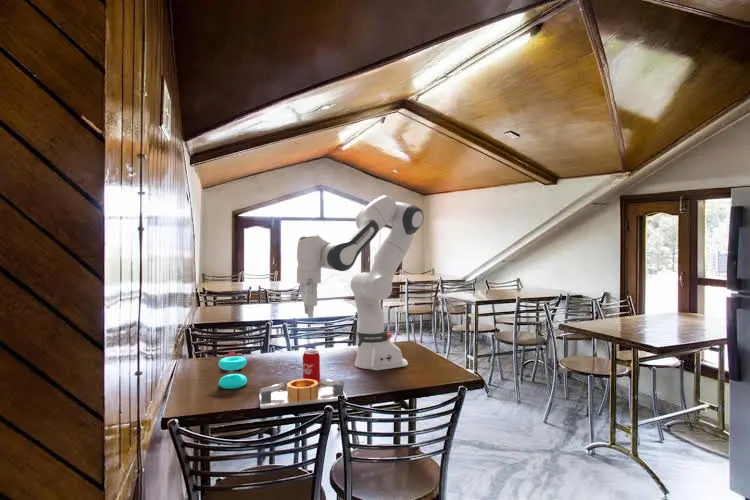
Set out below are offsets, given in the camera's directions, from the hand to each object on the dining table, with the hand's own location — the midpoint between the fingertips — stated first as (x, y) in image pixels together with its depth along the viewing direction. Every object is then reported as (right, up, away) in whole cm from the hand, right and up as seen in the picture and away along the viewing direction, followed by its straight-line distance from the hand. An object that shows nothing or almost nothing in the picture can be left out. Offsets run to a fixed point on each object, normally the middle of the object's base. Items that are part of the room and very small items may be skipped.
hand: (308, 315), depth 175 cm
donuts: (-28, -26, -1) cm, 38 cm away
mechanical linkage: (-36, -26, +26) cm, 52 cm away
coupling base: (0, -26, -16) cm, 30 cm away
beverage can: (+1, -26, -1) cm, 26 cm away
